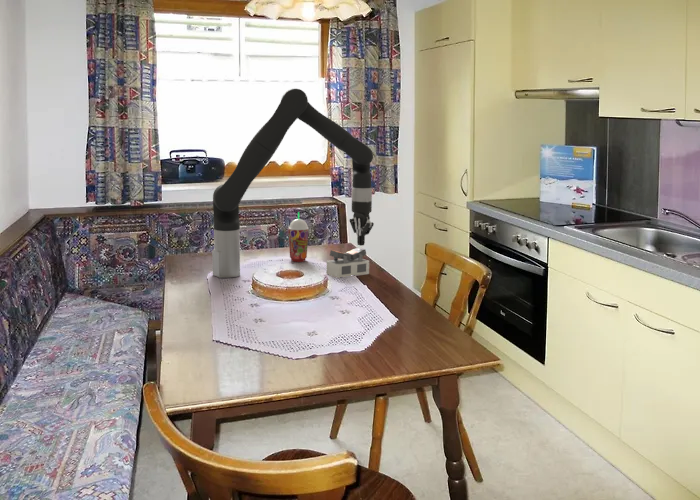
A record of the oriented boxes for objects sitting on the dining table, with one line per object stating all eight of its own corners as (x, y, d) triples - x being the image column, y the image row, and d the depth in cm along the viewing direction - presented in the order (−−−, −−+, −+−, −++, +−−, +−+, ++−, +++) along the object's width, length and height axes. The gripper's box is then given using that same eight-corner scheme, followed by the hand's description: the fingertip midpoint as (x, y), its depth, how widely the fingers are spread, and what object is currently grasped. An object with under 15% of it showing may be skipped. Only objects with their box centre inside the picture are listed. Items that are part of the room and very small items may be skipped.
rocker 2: (353, 260, 255) (352, 254, 254) (345, 257, 259) (344, 252, 258) (366, 254, 258) (365, 249, 257) (358, 252, 262) (357, 246, 261)
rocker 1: (337, 257, 250) (338, 252, 250) (329, 255, 255) (330, 249, 255) (350, 260, 254) (351, 254, 254) (342, 257, 258) (343, 252, 258)
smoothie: (299, 263, 274) (299, 214, 270) (283, 260, 279) (283, 212, 275) (312, 260, 280) (313, 212, 277) (297, 257, 285) (297, 210, 281)
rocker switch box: (338, 278, 250) (338, 257, 249) (326, 273, 257) (326, 254, 255) (369, 274, 258) (369, 254, 257) (356, 269, 265) (357, 250, 263)
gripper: (343, 198, 259) (342, 243, 262) (363, 202, 248) (363, 249, 251) (359, 197, 263) (358, 241, 266) (380, 201, 252) (379, 247, 256)
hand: (360, 245), depth 259 cm, fingers closed
